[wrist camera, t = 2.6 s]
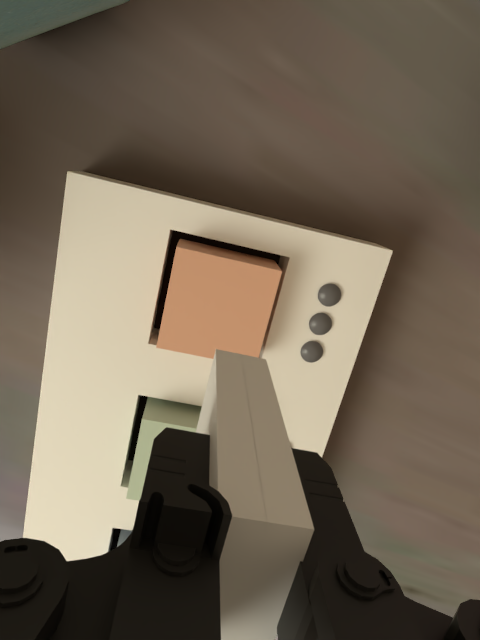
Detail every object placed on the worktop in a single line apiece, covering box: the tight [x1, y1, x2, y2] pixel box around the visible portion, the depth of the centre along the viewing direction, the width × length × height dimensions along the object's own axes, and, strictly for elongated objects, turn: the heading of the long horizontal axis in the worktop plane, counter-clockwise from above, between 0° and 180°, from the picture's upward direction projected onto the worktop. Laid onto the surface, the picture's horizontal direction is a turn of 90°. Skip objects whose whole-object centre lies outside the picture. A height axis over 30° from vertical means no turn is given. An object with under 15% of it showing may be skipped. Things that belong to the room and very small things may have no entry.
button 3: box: [156, 239, 282, 359], centre depth 23 cm, size 5×5×3 cm
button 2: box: [126, 397, 202, 501], centre depth 25 cm, size 5×5×3 cm
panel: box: [23, 171, 393, 561], centre depth 26 cm, size 16×27×3 cm, turn 166°
